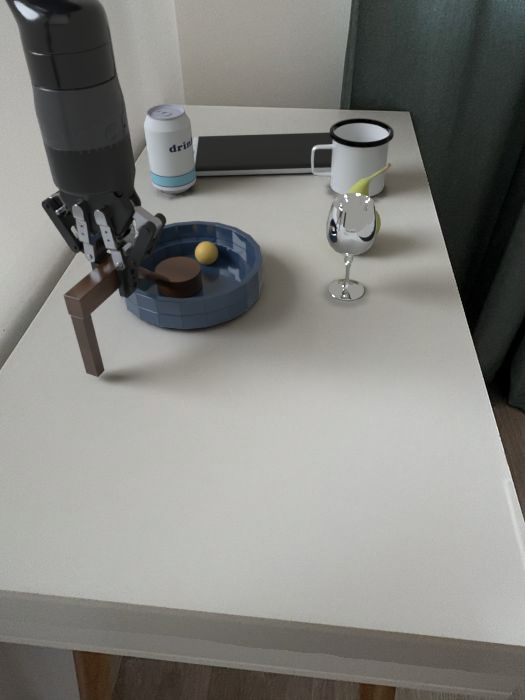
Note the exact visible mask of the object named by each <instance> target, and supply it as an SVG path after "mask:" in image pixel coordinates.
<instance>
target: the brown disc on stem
mask: <svg viewBox="0 0 525 700" xmlns="http://www.w3.org/2000/svg"><path fill="white" fill-rule="evenodd" d="M123 252H125V251H123ZM114 268H116V267H115V265H114V262H113V258H112V255H110V256H109V257H108V258H107V259H105V260H104V261H103V262H102V263H101V264H100V265H98V266H97V267H96V268H95V269H94V270H92V269H91V271H90V272H88V274H86V275H85V276H84V277H83V278H81V280H79V281H78V282H77V283H76V284H74V285H72V287H71V288H70V289H68V290H67V291H66V292H65V293H64V294H63V299H64V303H65V306H66V310H67V314H68V315H69V316H70V319H71V322H72V326H73V331H74V333H75V334H74V335H75V338H76V341H77V344H78V349H79V353H80V355H81V359H82V363H83V366H84V370H85V373H86V374H87V375H90V376H93V377H96V378H99V377H100V376H102V374H103V373H104V372H105V366H104V362H103V357H102V354H101V350H100V346H99V342H98V338H97V334H96V330H95V325H94V322H93V321H94V320H93V317H92V314H93V312H95V311H96V310H97V309H98V308H99V307H100V306H101V305H103V304H104V303H105V302H106V301H107V300H108V299H109V298H110V297H111V296H112V295H114V293H115V292H116V291H118V290H119V289H118V283H117V278H116V273H115V269H114ZM137 271H138V277H139V278H141V279H144V280H146V281H149V282H152V283H154V284H157V288H158V291H159V292H160V293H161V294H162V295H164V296H166V297H172V298H185V297H189V296H191V295H194V294H195V293H197V292H198V291H199V290H200V289H201V287H202V275H201V266H200V264H199V263H198V262H197V261H196V260H194V259H192V258H188V257H173V258H169V259H166V260H164V261H162V262H160V263H159V264H158V265H157V267H156V269H155V272H152V271H150V270H147V269H145V268H142V267H140V266H139V267H138V268H137Z"/></svg>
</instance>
